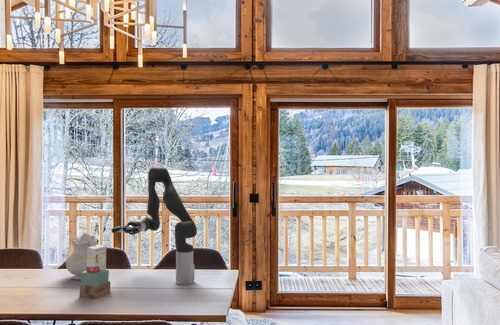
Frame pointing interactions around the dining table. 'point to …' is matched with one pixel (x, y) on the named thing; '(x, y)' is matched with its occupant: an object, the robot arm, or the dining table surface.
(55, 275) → the dining table surface
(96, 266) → the ink box
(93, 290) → the walnut block
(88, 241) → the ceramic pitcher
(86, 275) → the green block
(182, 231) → the robot arm
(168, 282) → the dining table surface
